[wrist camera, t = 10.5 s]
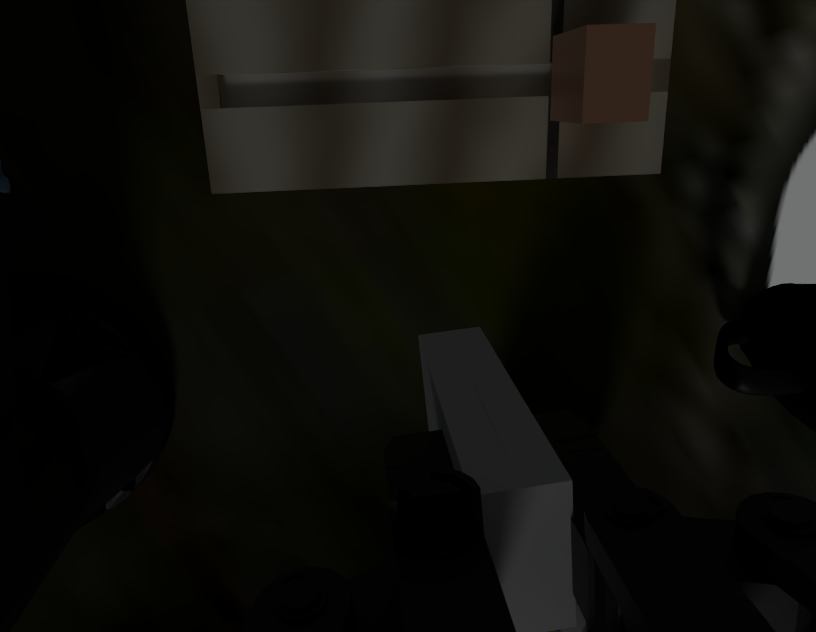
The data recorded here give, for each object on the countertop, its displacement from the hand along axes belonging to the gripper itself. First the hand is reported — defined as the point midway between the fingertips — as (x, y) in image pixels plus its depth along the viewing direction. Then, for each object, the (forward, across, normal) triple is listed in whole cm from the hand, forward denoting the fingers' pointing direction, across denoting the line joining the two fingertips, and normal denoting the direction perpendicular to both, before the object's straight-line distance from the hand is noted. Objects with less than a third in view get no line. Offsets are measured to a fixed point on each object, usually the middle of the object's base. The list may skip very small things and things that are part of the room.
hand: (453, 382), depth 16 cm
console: (+22, +3, +7) cm, 24 cm away
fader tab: (+21, +10, +6) cm, 24 cm away
